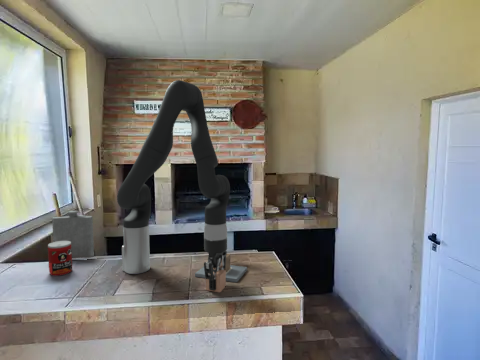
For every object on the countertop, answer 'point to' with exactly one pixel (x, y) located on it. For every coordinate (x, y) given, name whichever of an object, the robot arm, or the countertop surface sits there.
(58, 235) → the hip flask
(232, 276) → the slate board
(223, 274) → the terracotta block
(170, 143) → the robot arm
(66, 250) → the canned food
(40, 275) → the countertop surface
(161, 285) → the countertop surface
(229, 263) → the walnut block
